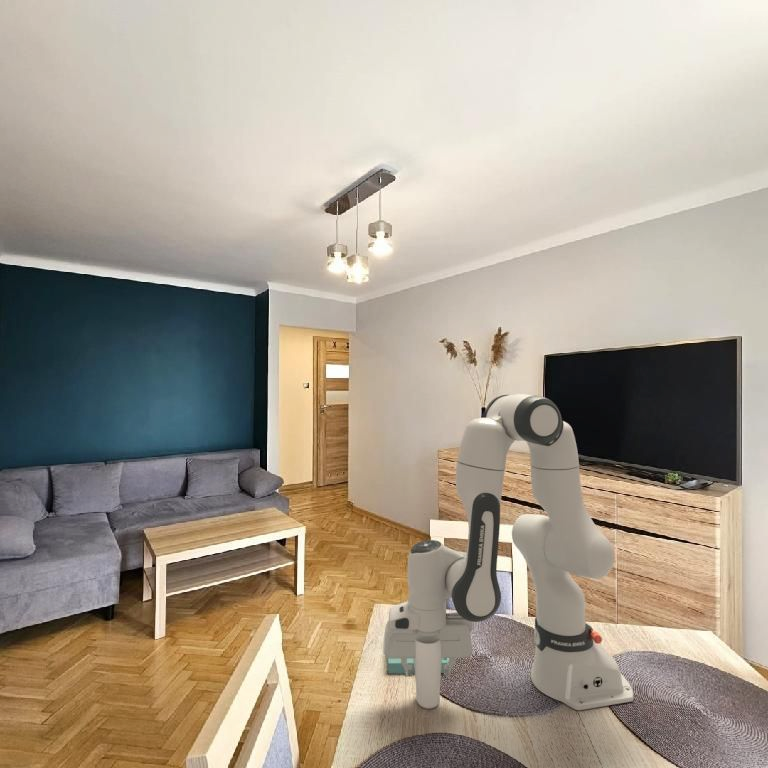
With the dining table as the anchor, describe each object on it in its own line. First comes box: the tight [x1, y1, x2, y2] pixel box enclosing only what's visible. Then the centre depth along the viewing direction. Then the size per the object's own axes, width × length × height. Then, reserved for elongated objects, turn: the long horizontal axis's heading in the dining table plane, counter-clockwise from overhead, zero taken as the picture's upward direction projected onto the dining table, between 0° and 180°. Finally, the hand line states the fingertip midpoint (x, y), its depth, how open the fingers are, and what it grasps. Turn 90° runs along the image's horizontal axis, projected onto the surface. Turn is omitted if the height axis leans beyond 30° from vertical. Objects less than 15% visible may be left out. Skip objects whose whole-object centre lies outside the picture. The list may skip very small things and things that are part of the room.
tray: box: [387, 658, 453, 675], centre depth 118 cm, size 16×16×3 cm
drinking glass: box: [413, 640, 442, 709], centre depth 100 cm, size 7×7×15 cm
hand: (427, 674), depth 100 cm, fingers open, 7 cm apart
